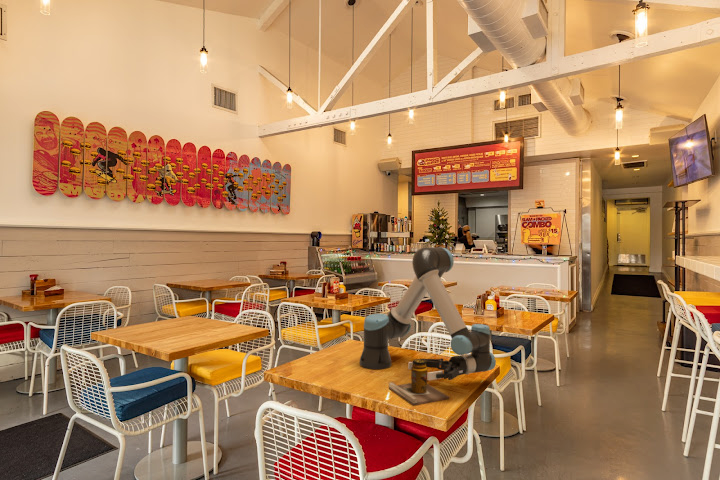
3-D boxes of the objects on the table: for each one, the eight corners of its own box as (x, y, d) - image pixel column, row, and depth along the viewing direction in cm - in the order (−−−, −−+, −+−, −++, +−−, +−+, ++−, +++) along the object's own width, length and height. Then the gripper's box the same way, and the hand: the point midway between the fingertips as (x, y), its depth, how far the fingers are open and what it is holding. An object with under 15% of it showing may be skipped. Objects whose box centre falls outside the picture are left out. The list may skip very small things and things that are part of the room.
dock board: (422, 383, 166) (422, 377, 166) (449, 398, 149) (449, 392, 149) (388, 388, 159) (389, 382, 159) (413, 405, 142) (413, 399, 142)
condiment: (430, 394, 151) (430, 362, 152) (409, 395, 150) (410, 364, 150) (423, 387, 159) (423, 357, 159) (403, 388, 157) (403, 358, 157)
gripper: (482, 384, 151) (436, 392, 142) (443, 365, 174) (401, 371, 165) (483, 364, 151) (437, 371, 142) (443, 348, 174) (401, 352, 165)
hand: (417, 371), depth 153 cm, fingers open, 13 cm apart
